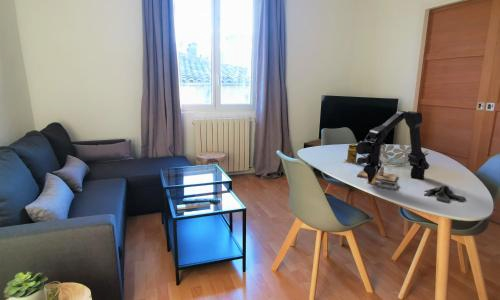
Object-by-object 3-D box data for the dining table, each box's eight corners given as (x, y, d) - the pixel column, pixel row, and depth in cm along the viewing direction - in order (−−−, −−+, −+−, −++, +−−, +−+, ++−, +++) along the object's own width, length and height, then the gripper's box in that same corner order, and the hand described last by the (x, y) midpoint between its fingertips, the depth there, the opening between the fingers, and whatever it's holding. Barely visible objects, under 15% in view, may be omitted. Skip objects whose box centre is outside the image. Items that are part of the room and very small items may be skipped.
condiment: (355, 163, 205) (357, 146, 202) (342, 162, 209) (344, 145, 206) (357, 161, 211) (359, 144, 208) (345, 159, 215) (346, 143, 212)
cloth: (443, 188, 162) (445, 177, 161) (475, 202, 145) (478, 190, 143) (407, 191, 158) (409, 180, 156) (436, 206, 140) (438, 193, 139)
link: (398, 185, 165) (399, 174, 163) (395, 190, 157) (397, 179, 156) (369, 180, 172) (370, 170, 171) (365, 184, 165) (366, 174, 164)
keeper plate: (397, 176, 179) (398, 165, 177) (394, 183, 168) (395, 171, 167) (362, 171, 189) (363, 160, 188) (356, 176, 179) (358, 165, 177)
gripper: (363, 147, 176) (360, 173, 179) (354, 154, 160) (352, 182, 164) (383, 150, 170) (380, 177, 173) (377, 157, 154) (373, 186, 158)
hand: (371, 180), depth 167 cm, fingers open, 9 cm apart
